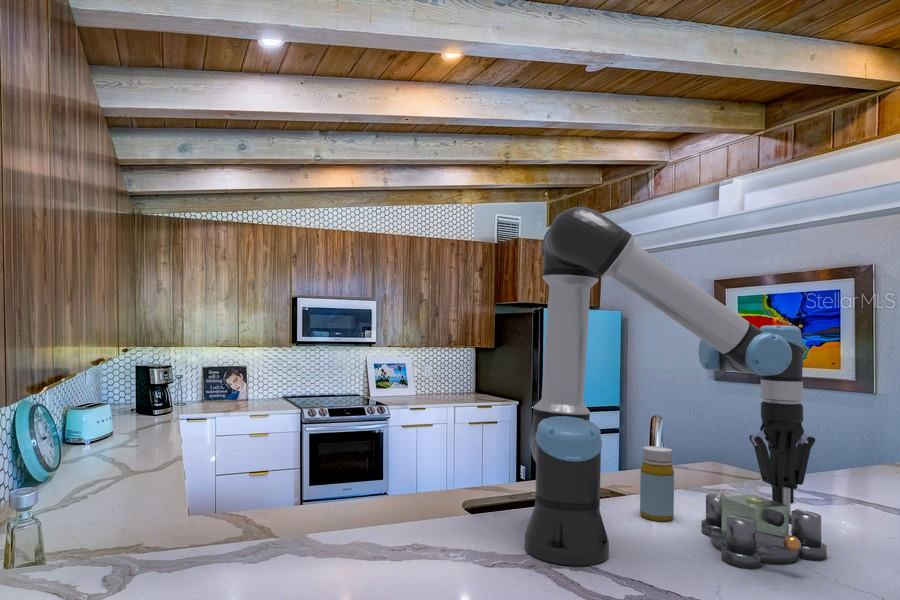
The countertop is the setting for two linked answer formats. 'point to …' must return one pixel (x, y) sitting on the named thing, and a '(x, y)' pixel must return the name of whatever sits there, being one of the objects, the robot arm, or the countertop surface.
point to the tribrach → (768, 520)
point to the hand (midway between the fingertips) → (783, 519)
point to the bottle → (657, 484)
